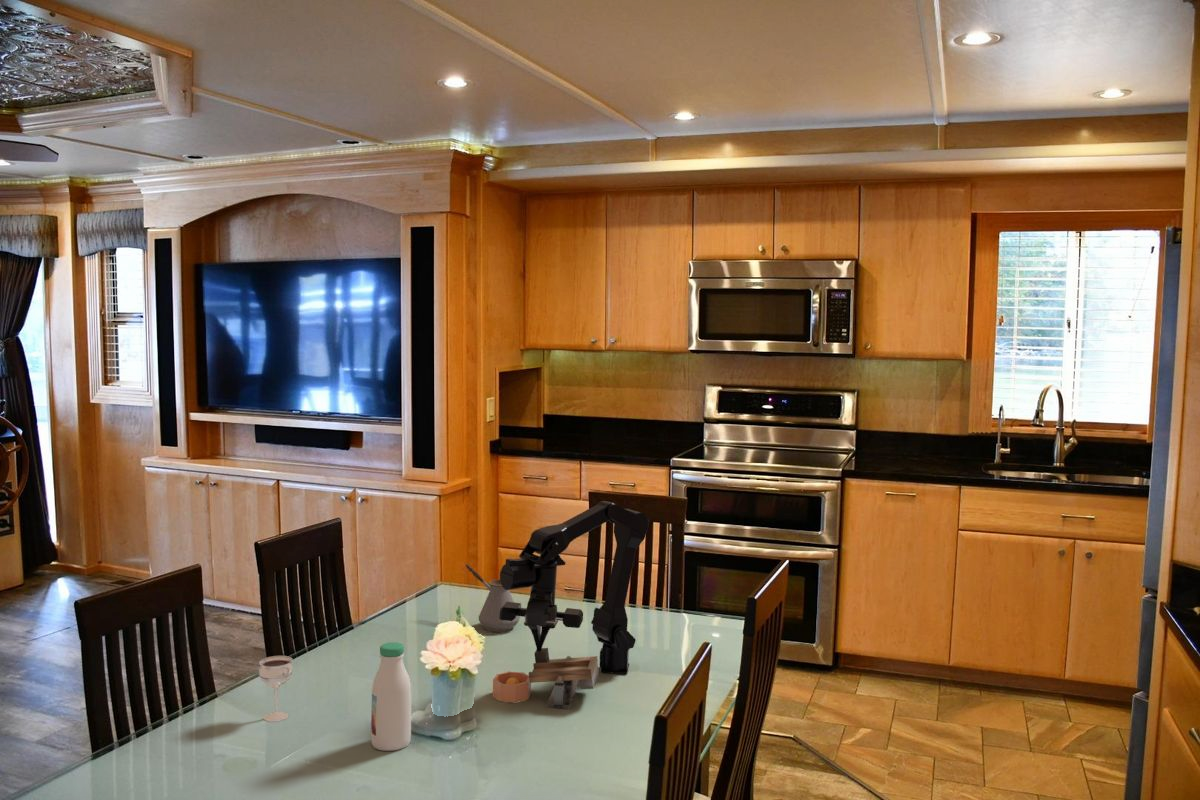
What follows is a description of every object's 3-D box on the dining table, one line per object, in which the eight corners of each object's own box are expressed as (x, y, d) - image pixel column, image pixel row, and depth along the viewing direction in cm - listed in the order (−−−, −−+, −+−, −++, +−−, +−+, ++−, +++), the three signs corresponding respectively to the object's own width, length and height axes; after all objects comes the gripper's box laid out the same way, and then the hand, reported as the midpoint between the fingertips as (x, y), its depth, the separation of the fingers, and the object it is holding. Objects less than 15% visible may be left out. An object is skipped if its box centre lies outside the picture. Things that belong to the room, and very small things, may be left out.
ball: (504, 680, 210) (512, 691, 209) (501, 685, 206) (509, 697, 206) (515, 672, 209) (523, 684, 209) (512, 678, 206) (520, 689, 206)
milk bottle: (418, 738, 185) (419, 641, 183) (397, 754, 178) (398, 654, 176) (385, 732, 187) (385, 636, 186) (363, 748, 180) (364, 648, 179)
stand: (578, 683, 216) (579, 662, 216) (569, 709, 201) (569, 686, 201) (558, 681, 217) (558, 660, 216) (547, 707, 202) (547, 684, 201)
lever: (599, 668, 215) (596, 641, 214) (592, 692, 201) (588, 662, 200) (541, 672, 216) (537, 645, 216) (529, 696, 202) (526, 667, 202)
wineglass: (261, 725, 189) (261, 669, 188) (256, 713, 195) (256, 658, 194) (295, 720, 192) (295, 664, 191) (290, 708, 198) (290, 653, 197)
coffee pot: (528, 628, 255) (529, 575, 254) (496, 637, 247) (497, 582, 246) (480, 610, 270) (480, 560, 269) (448, 618, 262) (449, 567, 261)
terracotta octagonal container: (532, 689, 211) (533, 672, 211) (525, 703, 203) (526, 686, 203) (498, 687, 212) (498, 670, 212) (490, 701, 204) (490, 683, 204)
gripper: (495, 590, 204) (491, 658, 205) (578, 598, 202) (573, 667, 203) (506, 577, 215) (502, 642, 216) (585, 585, 213) (580, 650, 214)
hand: (539, 650), depth 212 cm, fingers closed, pressing on lever
